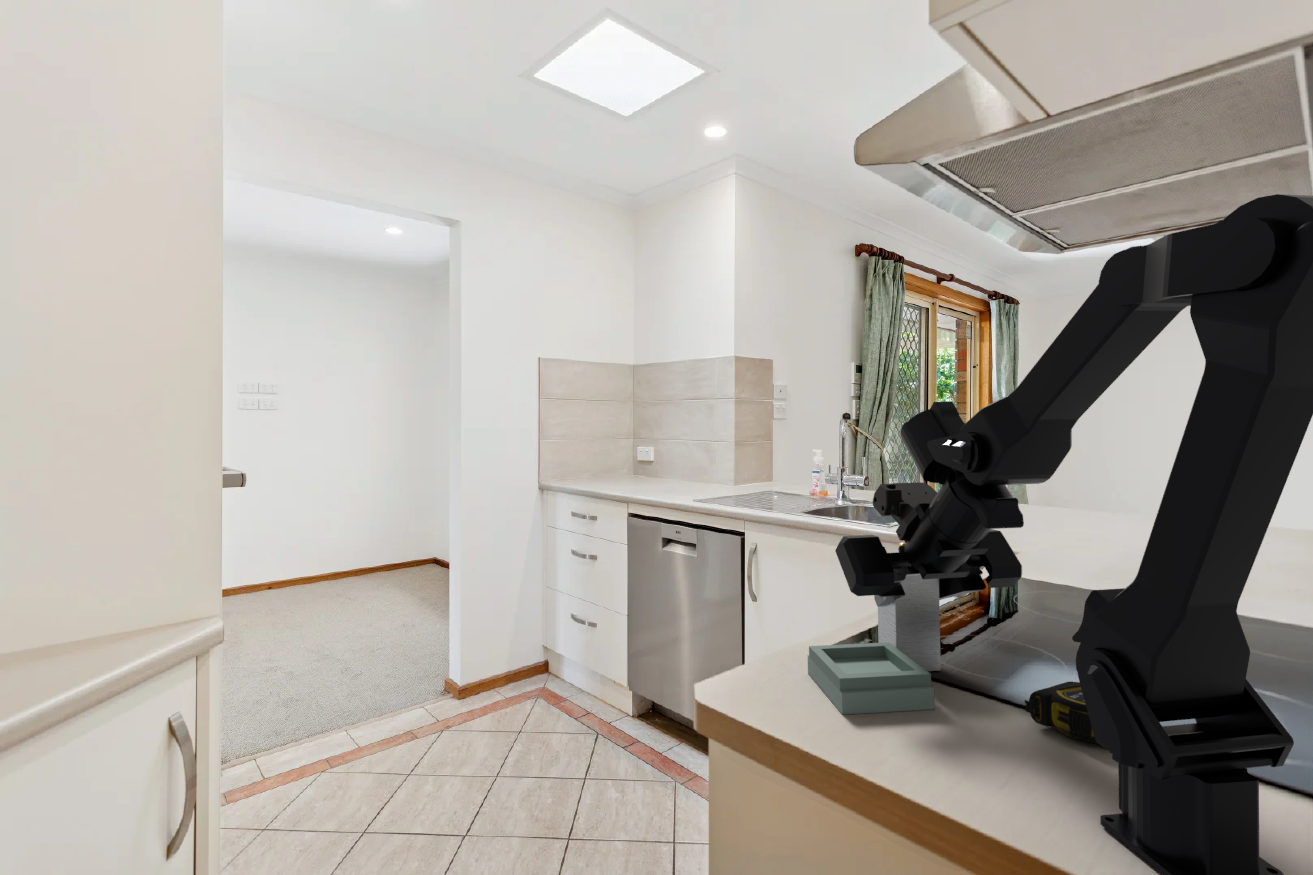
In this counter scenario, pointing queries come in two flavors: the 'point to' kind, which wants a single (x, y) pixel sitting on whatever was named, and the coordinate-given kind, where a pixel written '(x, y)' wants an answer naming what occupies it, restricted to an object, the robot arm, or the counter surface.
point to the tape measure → (1062, 710)
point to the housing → (914, 621)
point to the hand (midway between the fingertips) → (899, 601)
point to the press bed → (870, 678)
